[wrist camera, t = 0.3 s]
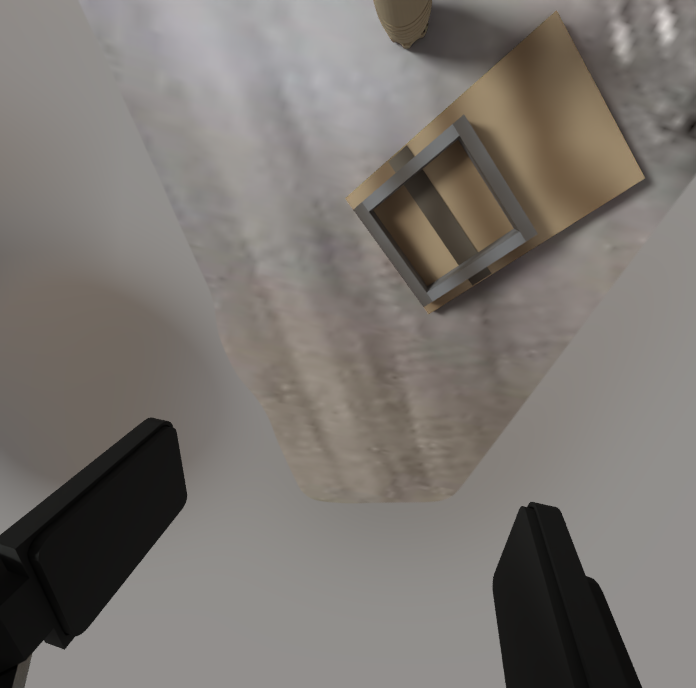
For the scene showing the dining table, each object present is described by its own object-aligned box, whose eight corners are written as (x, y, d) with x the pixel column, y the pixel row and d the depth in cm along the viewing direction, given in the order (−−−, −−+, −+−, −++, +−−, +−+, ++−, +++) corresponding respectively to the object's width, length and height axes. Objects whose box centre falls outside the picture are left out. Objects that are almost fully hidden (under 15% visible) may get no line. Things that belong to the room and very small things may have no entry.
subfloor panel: (550, 19, 27) (568, -7, 23) (635, 178, 29) (663, 177, 26) (348, 198, 35) (338, 199, 31) (428, 309, 37) (428, 322, 34)
